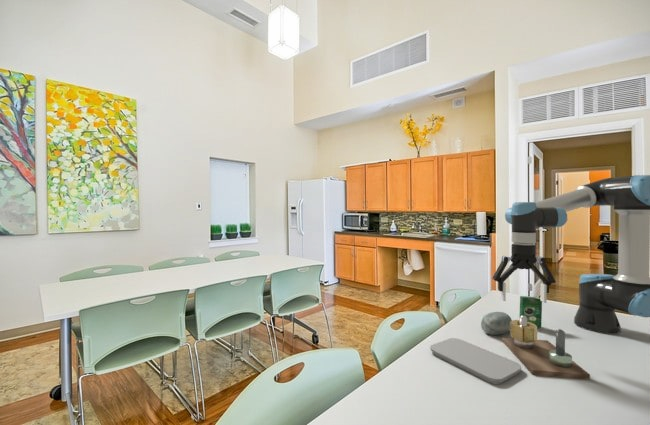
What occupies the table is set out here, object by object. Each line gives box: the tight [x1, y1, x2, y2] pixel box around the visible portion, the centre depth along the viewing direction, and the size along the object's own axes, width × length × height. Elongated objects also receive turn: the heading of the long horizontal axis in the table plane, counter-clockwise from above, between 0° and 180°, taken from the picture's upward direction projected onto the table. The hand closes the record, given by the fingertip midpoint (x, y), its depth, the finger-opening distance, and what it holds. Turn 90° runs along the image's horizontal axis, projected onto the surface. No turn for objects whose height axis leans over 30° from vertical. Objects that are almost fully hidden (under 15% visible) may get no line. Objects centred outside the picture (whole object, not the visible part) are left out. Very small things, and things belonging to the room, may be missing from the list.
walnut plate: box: [501, 337, 591, 380], centre depth 107 cm, size 16×24×2 cm, turn 170°
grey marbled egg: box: [480, 311, 513, 336], centre depth 129 cm, size 14×10×10 cm
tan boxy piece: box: [509, 319, 538, 342], centre depth 113 cm, size 8×8×5 cm
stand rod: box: [514, 315, 533, 349], centre depth 113 cm, size 6×6×11 cm
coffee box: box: [518, 295, 543, 329], centre depth 134 cm, size 8×3×13 cm, turn 79°
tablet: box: [429, 337, 522, 385], centre depth 105 cm, size 16×26×2 cm, turn 31°
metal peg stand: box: [549, 328, 573, 368], centre depth 100 cm, size 6×6×11 cm
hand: (522, 300), depth 113 cm, fingers open, 13 cm apart
